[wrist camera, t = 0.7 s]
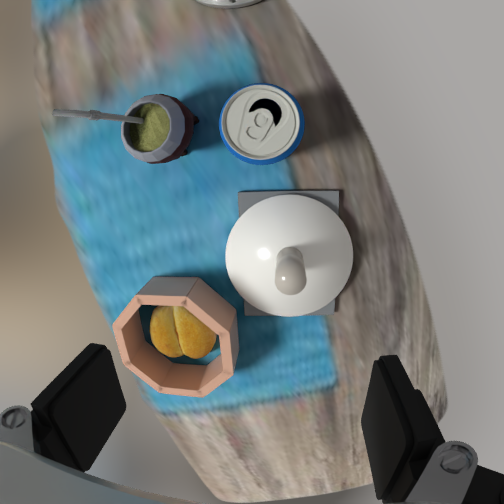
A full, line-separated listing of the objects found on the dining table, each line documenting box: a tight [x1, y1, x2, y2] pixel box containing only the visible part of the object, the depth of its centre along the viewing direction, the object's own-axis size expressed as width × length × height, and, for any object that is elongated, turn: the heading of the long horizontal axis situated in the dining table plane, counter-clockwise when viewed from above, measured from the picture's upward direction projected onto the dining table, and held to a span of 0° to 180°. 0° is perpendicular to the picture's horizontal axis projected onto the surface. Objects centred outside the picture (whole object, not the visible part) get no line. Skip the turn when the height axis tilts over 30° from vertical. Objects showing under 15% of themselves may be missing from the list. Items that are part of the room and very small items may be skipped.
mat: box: [238, 190, 339, 316], centre depth 36 cm, size 15×11×1 cm
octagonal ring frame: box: [112, 277, 239, 397], centre depth 38 cm, size 15×15×6 cm
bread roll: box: [149, 305, 217, 359], centre depth 39 cm, size 8×9×4 cm
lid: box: [226, 194, 353, 317], centre depth 33 cm, size 14×14×7 cm
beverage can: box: [219, 83, 305, 165], centre depth 27 cm, size 6×6×12 cm
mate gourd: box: [52, 94, 199, 164], centre depth 26 cm, size 8×8×15 cm
